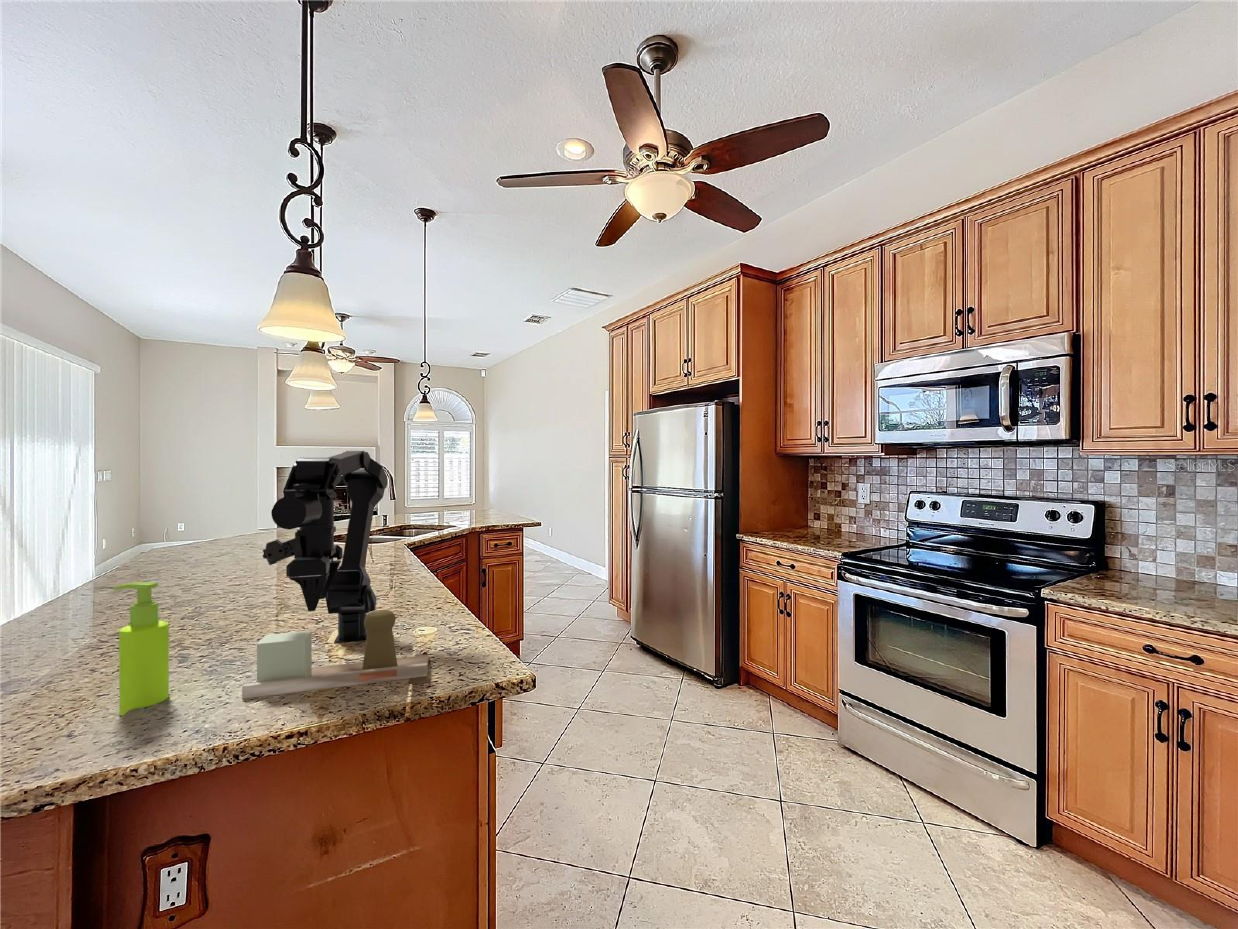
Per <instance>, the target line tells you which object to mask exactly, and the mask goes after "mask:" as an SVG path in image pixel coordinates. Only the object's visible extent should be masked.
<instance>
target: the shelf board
mask: <svg viewBox="0 0 1238 929" xmlns="http://www.w3.org/2000/svg"><path fill="white" fill-rule="evenodd" d="M396 658H397V657H396ZM397 665H398V666H394V667H386V668H377V669H368V670H362V668H363V661H361V662H360V661H359V662H351V663H342V664H333V665H324V666H314V667H312V676H308V677H299V678H291V679H282V680H273V681H265V682H257V680H256V681H255V682H251V683H250V682H249V683H248V682H247V683H244V684H243V685H241V695H242V696H241V699H242V700H245V699H254V698H262V697H271V696H277V695H285V694H292V693H293V694H294V693H302V692H310V691H317V690H325V689H327V690H328V689H334V688H335V689H336V688H343V687H350V686H360V685H367V684H375V683H382V682H389V681H399V680H406V679H407V680H408V684H413V685H418V684H419V685H420V684H427V683H428V670H429V669H428V668H429V667H428V666H429V655H428V654H422V655H413V656H406V657H398V658H397Z"/></svg>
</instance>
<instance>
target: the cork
mask: <svg viewBox="0 0 1238 929" xmlns="http://www.w3.org/2000/svg"><path fill="white" fill-rule="evenodd" d="M395 624H396V615H395V613H394V612H393V611H391V610H388V609H378V610H375V611H370V612H369V613H367V615H366V617H365V619H364V626H365V629H366V630H367V639H366V641H365V648H364V654H363V661H362V662H363V668H362V670H368V669H377V668H386V667H394V666H398V665H397V652H396V647H395V639H394V632H393V627H394V626H395Z"/></svg>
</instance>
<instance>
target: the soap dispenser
mask: <svg viewBox="0 0 1238 929" xmlns="http://www.w3.org/2000/svg"><path fill="white" fill-rule="evenodd" d="M156 587H159V582H157V581H156V582H155V581H135V582H134V581H133V582H130V583H125V584H120V585H118V586H117V585H116V586H114V587H113V588H112V590H114V591H117V590H123V589H136V591H137V592H136V595H137V596H136V599H137V600H136V602H134V604H130V606H129V624H128V625H126V626H124V627H122V628H119V630H118V632H119V633H118V635H119V636H118V637H119V638H118V643H119V644H118V651H119V653H118V655H119V656H118V658H119V664H118V666H119V673H118V674H119V678H118V679H119V682H118V683H119V685H118V686H119V688H118V691H119V698H118V700H119V704H118V705H119V715H120V716H121V717H124V715H125V714H127V713H129V712H130V711H132V710H137V709H142V708H146V707H150V706H151V707H152V706H153V705H156V704H159V703H161V702H163V701H165V700H167V699H168V698H169V696H170V693H169V692H170V691H169V690H170V686H169V685H170V684H169V683H170V680H169V678H170V677H169V676H170V666H169V665H170V664H169V660H170V658H169V656H170V655H169V654H170V649H169V648H170V646H169V643H170V642H169V641H170V640H169V638H170V637H169V636H170V634H169V633H170V630H169V628H170V627H169V626H170V625H169V622H168V621H165V620H159V601H155V600H152V589H153V588H156Z"/></svg>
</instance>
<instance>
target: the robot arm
mask: <svg viewBox="0 0 1238 929" xmlns="http://www.w3.org/2000/svg"><path fill="white" fill-rule="evenodd" d="M342 481H343V483H344V485H345V486H346V490H345V492H346V493H347V495H348V497H349V499H350V502H351V506H350V514H349V519H348V523H347V524H348V525H347V530H346V536H345V537H346V538H345V542H344V547H343V548H342V547H341V546H340V544H335V532H336V531H337V527H336V525H335V510H334V509H335V504H334V503H335V500H334V498H337V496H338V494H337V493H336V492H335V491H334V490H336V488H337V486H338V484H340V483H341V482H342ZM388 481H389V480H388V475H387V473H386V471H385V469H384V467H383V465H382V464H380V463H379V462H377V461H375V460H374V459H373V458H371V455H370V454H369V452H368V451H365V450H345V451H343V452H342V453H340V454H339V453H338V454H335V455H332V456H329V457H299V458H297V459H296V461H295V463H294V464H293V465H292V466H291V469H290V472H289V475H288V477H287V479H286V483H285V485H284V487H283V491H282V492H283V497H280V498H279V499H278V500H277V501H276V502H275V503H274V504H273V506H272V509H271V518H272V521H273V522H274V524H275V525H276V526H278V527H279V528H281V529H283V530H294V529H297V530H296V531H295V532H294V537H292V538H289V539H287V540H283V541H280V540H279V539H274V540H272V541H270V542H266V545H265V548H263V549H262V553H263V554H262V558H263V559H264V560H265V559H266V561H267V563H268V565H269V566H272V565H274V564H277V563H278V562H281V561H283V560H285V559H289V558H291V557H293V556H294V557H293V558H294V559H292V560H291V561H290V562H289V563H288V564H287V565H286V566H285V568H286V569H285V570H286V573H285V574H286V577H288V578H289V580H290V581H293V582H295V583H297V584H298V585H299V586H300V589H301V592H302V595H303V599H304V602H305V606H306V608H307V611H308V612H315V611H316V609H317V607H318V604H319V602H320V600H323V599H324V600H325V603H326V608H327V613H328V615H332V614H337V618H338V619H337V635H336V637H335V639H334V640H333V644H344V643H356V642H364V641H365V642H366V639H367V630H366V629H365V626H364V619H365V617H366V615H367V614H369V613H370V612H373V611H377V610H376V608H377V596H376V594H375V591H374V590H373V589H372V586H371V583H372V582H371V578H370V576H369V573H368V572H367V569H366V568H365V567H366V561H367V555H368V549H369V543H370V542H369V540H370V536H371V531H372V530H371V529H372V522H373V515H374V509H375V508H376V506H377V505H378V504H379V502H381V500H382V499H383V498H384V495H385V490H386V488H387V487H388ZM298 528H299V529H298ZM334 559H335V560H334Z"/></svg>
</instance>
